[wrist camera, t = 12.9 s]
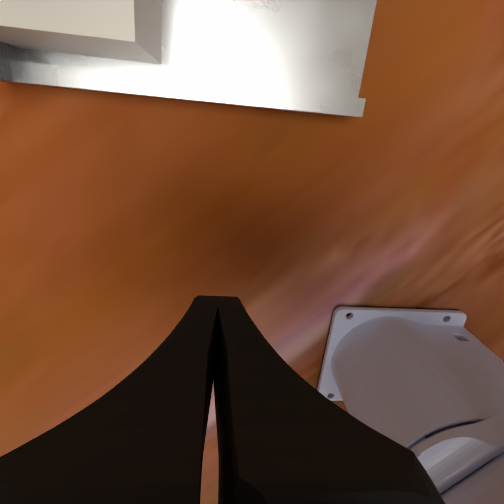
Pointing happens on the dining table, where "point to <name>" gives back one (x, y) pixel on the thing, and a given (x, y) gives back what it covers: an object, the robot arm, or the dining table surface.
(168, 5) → the rail
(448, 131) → the dining table surface
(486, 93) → the dining table surface
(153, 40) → the module
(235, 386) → the robot arm
